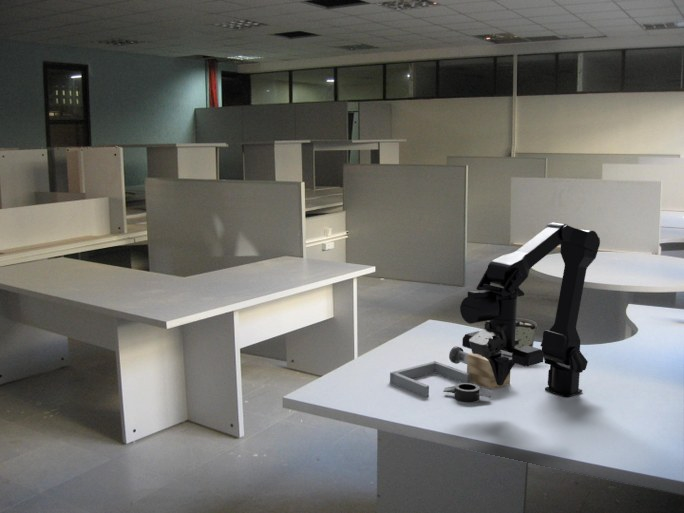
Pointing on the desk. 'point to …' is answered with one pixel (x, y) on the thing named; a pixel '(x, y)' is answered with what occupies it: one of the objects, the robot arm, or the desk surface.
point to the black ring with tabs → (465, 392)
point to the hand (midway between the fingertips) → (499, 384)
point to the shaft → (458, 355)
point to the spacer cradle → (406, 375)
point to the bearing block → (482, 372)
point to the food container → (525, 332)
